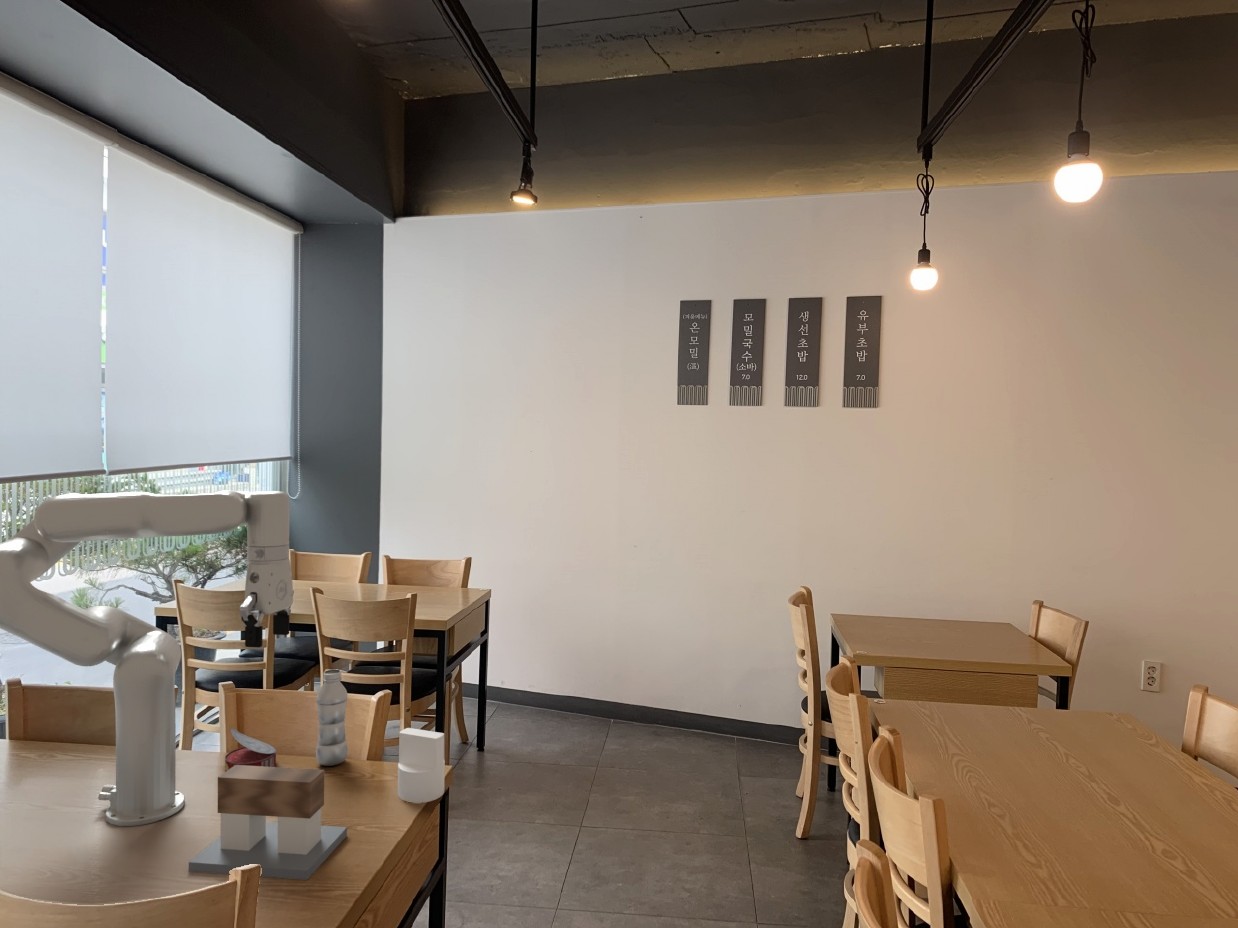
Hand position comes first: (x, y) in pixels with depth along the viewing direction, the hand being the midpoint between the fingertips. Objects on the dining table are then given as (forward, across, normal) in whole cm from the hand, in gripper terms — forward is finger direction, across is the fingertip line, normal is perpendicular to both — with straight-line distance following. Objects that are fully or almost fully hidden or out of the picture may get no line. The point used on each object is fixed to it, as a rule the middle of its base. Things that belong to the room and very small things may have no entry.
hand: (267, 640), depth 151 cm
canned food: (+31, +11, +10) cm, 34 cm away
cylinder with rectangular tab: (+31, +4, -30) cm, 43 cm away
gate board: (+30, -21, -13) cm, 39 cm away
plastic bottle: (+31, +15, -6) cm, 35 cm away
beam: (+23, -21, -13) cm, 34 cm away
